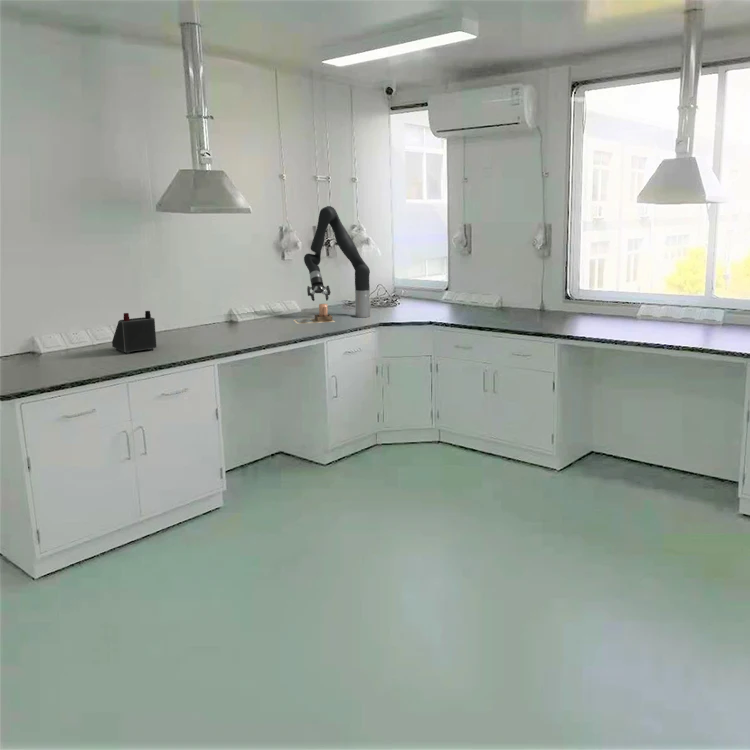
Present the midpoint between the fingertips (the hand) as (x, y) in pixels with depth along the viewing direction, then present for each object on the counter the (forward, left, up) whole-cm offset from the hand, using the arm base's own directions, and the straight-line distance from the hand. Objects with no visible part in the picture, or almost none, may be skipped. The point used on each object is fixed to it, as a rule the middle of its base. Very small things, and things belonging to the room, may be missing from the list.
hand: (320, 300), depth 432 cm
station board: (+6, +7, -13) cm, 16 cm away
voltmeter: (+110, +60, -13) cm, 126 cm away
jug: (0, +8, -12) cm, 14 cm away
